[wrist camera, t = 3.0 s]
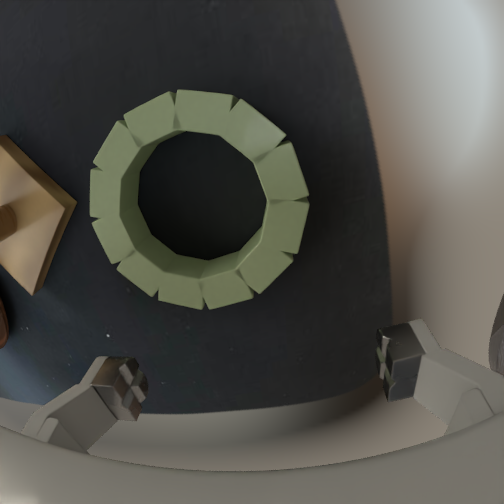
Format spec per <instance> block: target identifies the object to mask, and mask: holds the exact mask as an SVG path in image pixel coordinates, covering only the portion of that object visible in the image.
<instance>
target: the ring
mask: <svg viewBox="0 0 504 504" xmlns="http://www.w3.org/2000/svg"><path fill="white" fill-rule="evenodd" d="M124 118H125V120H121V121H117V122H116V124H115V126H114V127H113V129H112V130H111V132H110V134H109V135H108V137H107V139H106V140H105V142H104V144H103V145H102V147H101V149H100V151H99V152H98V154H97V156H96V158H95V159H94V161H93V163H94V164H95V165H97V166H98V167H97V168H94V169H91V176H90V216H91V217H97V218H99V219H97V220H95V221H94V222H92V225H93V227H94V230H95V232H96V234H97V236H98V238H99V240H100V242H101V244H102V246H103V248H104V250H105V252H106V254H107V256H108V258H109V260H110V262H111V264H114V263H117V262H119V261H121V263H120V264H119V266H118V267H117V270H118V271H119V272H120V273H121V274H123V275H124V276H125V277H126V278H128V279H129V280H130V281H131V282H133V283H134V284H135V285H137V286H138V287H139V288H140V289H142V290H143V291H144V292H146V293H147V294H148V295H150V296H151V297H153V296H154V294H155V293H156V292H157V290H158V289H159V294H158V299H159V300H160V301H164V302H168V303H173V304H177V305H182V306H186V307H191V308H196V309H201V310H202V309H203V307H204V304H205V302H206V304H207V306H208V308H209V309H210V310H211V309H214V308H218V307H222V306H226V305H230V304H233V303H237V302H241V301H244V300H248V299H252V298H253V296H254V290H255V291H256V292H257V293H259V294H260V293H262V292H263V291H264V290H265V289H266V288H267V287H268V286H269V285H270V284H271V283H272V282H273V281H274V280H275V279H276V278H277V277H278V276H279V275H280V274H281V273H282V272H283V271H284V270H285V269H286V268H287V267H288V266H289V265H290V264H291V263H292V262H293V254H292V253H295V254H297V253H298V251H299V247H300V243H301V239H302V235H303V231H304V226H305V222H306V218H307V214H308V210H309V202H308V200H307V196H309V192H308V189H307V186H306V183H305V180H304V177H303V174H302V171H301V168H300V165H299V162H298V159H297V156H296V153H295V150H294V147H293V145H292V143H291V142H290V141H289V140H287V141H284V142H281V141H282V140H283V139H284V138H285V136H286V134H285V133H284V132H283V131H281V130H280V129H279V128H278V127H277V126H275V125H274V124H273V123H272V122H271V121H269V120H268V119H267V118H266V117H264V116H263V115H262V114H261V113H259V112H258V111H257V110H256V109H254V108H253V107H252V106H251V105H249V104H248V103H247V102H245V101H244V100H243V99H240V100H239V99H237V98H236V97H234V96H233V95H229V94H221V93H212V92H202V91H192V90H178V91H177V93H173V92H167V93H165V94H162V95H160V96H158V97H156V98H154V99H152V100H150V101H148V102H147V103H145V104H143V105H141V106H139V107H137V108H135V109H133V110H132V111H130V112H128V113H126V114H124ZM185 131H191V132H199V133H207V134H214V135H220V136H221V137H222V138H224V139H225V140H226V141H227V142H229V143H230V144H231V145H232V146H234V147H235V148H236V149H237V150H239V151H240V152H241V153H242V154H244V155H245V156H246V157H247V158H248V159H250V160H251V161H252V162H253V163H254V166H255V169H256V171H257V174H258V177H259V179H260V182H261V185H262V187H263V190H264V193H265V196H266V198H267V203H266V208H265V213H264V218H263V224H262V227H261V228H260V229H259V230H258V231H257V232H256V233H255V234H254V236H253V237H252V238H251V239H250V240H249V241H248V242H247V243H246V244H245V245H244V247H243V248H242V249H241V250H240V251H237V252H234V253H231V254H228V255H225V256H222V257H218V258H215V259H212V260H209V261H208V260H202V259H197V258H192V257H187V256H182V255H177V254H175V253H174V252H173V251H172V250H170V249H169V248H168V247H166V246H165V245H164V244H163V243H161V242H160V241H159V240H158V239H156V238H155V237H154V236H153V235H151V233H150V231H149V228H148V226H147V224H146V222H145V220H144V217H143V215H142V213H141V211H140V209H139V206H138V188H139V175H140V170H141V169H142V167H143V166H144V164H145V163H146V161H147V160H148V158H149V157H150V155H151V154H152V152H153V151H154V149H155V148H156V147H157V145H158V144H159V143H161V142H163V141H165V140H167V139H169V138H172V137H174V136H176V135H178V134H180V133H183V132H185ZM280 142H281V143H280Z"/></svg>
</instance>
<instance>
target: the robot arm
mask: <svg viewBox="0 0 504 504" xmlns="http://www.w3.org/2000/svg"><path fill="white" fill-rule="evenodd" d="M376 340H377V343H378V345H379V346H378V347H377V349H376V366H377V371H378V374H379V377H380V378H382V379H383V380H384V381H383V389H384V392H385V395H386V398H387V401H388V402H392V401H397V400H401V399H405V398H409V397H413V398H414V399H415V400H416V401H418V402H419V403H420V404H421V405H423V406H424V407H425V408H427V409H428V410H429V411H430V412H432V413H433V414H434V415H436V416H437V417H438V418H439V419H441V420H442V421H443V422H444V423H446V424H447V425H448V428H447V430H446V433H445V435H444V436H443V437H440V438H437V439H434V440H431V441H428V442H425V443H421V444H419V445H415V446H412V447H408V448H404V449H401V450H397V451H393V452H389V453H385V454H381V455H377V456H372V457H367V458H363V459H358V460H352V461H347V462H342V463H336V464H329V465H322V466H315V467H306V468H296V469H284V470H271V471H270V470H269V471H244V472H243V471H199V470H184V469H172V468H163V467H155V466H146V465H140V464H134V463H128V462H122V461H116V460H112V459H107V458H101V457H97V456H93V455H90V454H89V453H88V452H87V449H89V448H90V447H91V446H92V445H93V444H94V443H95V442H96V441H97V440H98V439H99V438H100V437H101V436H102V435H103V434H104V433H105V432H106V431H107V430H109V429H110V428H111V427H112V426H113V425H114V424H115V423H116V422H117V420H127V421H137V418H138V416H139V414H140V411H141V409H142V406H141V404H140V403H141V402H142V401H143V400H145V399H146V397H147V394H148V382H147V379H146V377H145V375H144V374H143V373H142V372H141V371H139V370H138V367H139V364H138V362H137V361H136V359H135V358H133V357H112V356H110V357H103V356H100V357H97V358H96V359H95V361H94V362H93V364H92V365H91V367H90V368H89V370H88V371H87V373H86V374H85V376H84V378H83V379H82V381H81V382H80V384H79V385H77V384H76V385H74V386H73V387H71V388H70V389H68V390H67V391H65V392H64V393H62V394H61V395H59V396H58V397H56V398H55V399H53V400H52V401H50V402H49V403H47V404H45V405H44V406H42V407H41V408H39V409H38V410H36V411H35V412H33V414H32V415H31V417H30V418H29V420H28V422H27V423H26V425H25V427H24V428H23V430H22V431H21V433H18V432H15V431H13V430H10V429H8V428H5V427H3V426H1V425H0V504H504V376H503V375H501V374H499V373H497V372H495V371H492V370H490V369H488V368H486V367H484V366H482V365H480V364H478V363H475V362H473V361H471V360H469V359H467V358H465V357H463V356H461V355H458V354H456V353H454V352H452V351H450V350H448V349H441V347H440V346H439V344H438V343H437V341H436V339H435V338H434V336H433V334H432V333H431V331H430V329H429V328H428V326H427V325H426V323H425V322H424V320H423V319H421V318H420V319H417V320H413V321H409V322H407V323H402V324H398V325H393V326H389V327H384V328H380V329H377V333H376Z"/></svg>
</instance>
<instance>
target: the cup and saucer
mask: <svg viewBox="0 0 504 504" xmlns="http://www.w3.org/2000/svg"><path fill="white" fill-rule="evenodd" d="M8 335H9V330H8V320H7V315H6V311H5V308H4V305H3V302H2V300H1V297H0V349H1V348H3V347H4V346H5V344H6V342H7V340H8Z"/></svg>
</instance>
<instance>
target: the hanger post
mask: <svg viewBox="0 0 504 504" xmlns="http://www.w3.org/2000/svg"><path fill="white" fill-rule="evenodd" d="M76 204H77V201H76V200H74V199H73V198H72V197H71V196H70V195H69V194H68V193H67V192H65V191H64V190H63V189H62V188H61V187H60V186H59V185H58V184H57V183H56V182H54V181H53V180H52V179H51V178H50V177H49V176H48V175H47V174H46V173H45V172H44V171H43V170H41V169H40V168H39V167H38V166H37V165H36V164H35V163H34V162H33V161H32V160H31V159H30V158H29V157H28V156H27V155H26V154H25V153H24V152H23V151H22V150H21V149H20V148H19V147H18V146H17V145H16V144H15V143H14V142H13V141H12V140H11V139H10V138H9V137H8V136H7V135H3V136H0V264H1V265H2V266H3V267H4V268H5V269H6V270H7V271H8V272H9V273H10V274H11V275H12V276H13V277H14V278H15V279H16V280H17V281H18V282H19V283H20V284H21V285H22V286H23V287H24V288H25V289H26V290H27V291H28V292H29V293H30V294H31V295H32V296H33V295H34V294H35V293H36V292H37V291H38V290H40V289H41V288H42V286H43V283H44V281H45V278H46V275H47V272H48V270H49V267H50V264H51V262H52V259H53V257H54V254H55V252H56V249H57V247H58V244H59V242H60V239H61V237H62V235H63V232H64V230H65V228H66V226H67V223H68V221H69V219H70V217H71V215H72V213H73V210H74V208H75V206H76Z"/></svg>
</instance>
